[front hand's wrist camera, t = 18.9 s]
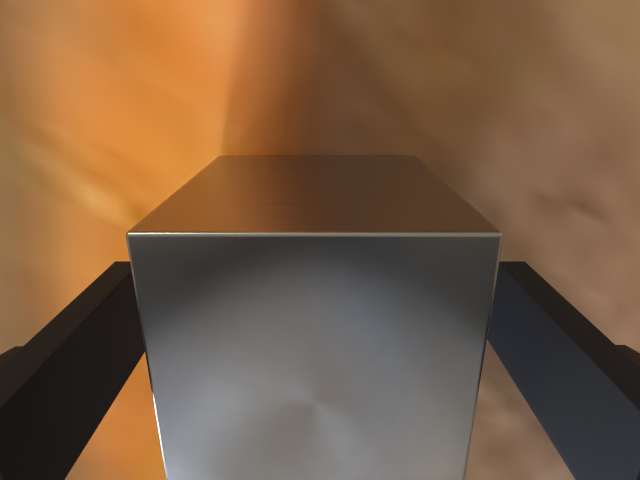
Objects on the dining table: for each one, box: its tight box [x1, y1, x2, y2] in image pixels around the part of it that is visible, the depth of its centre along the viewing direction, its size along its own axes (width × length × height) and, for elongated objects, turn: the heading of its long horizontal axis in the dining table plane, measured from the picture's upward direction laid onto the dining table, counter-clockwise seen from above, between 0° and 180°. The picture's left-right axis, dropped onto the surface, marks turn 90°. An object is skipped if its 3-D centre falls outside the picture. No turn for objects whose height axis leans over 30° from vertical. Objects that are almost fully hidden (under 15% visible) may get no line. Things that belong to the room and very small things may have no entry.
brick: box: [126, 156, 503, 480], centre depth 13 cm, size 7×8×8 cm
